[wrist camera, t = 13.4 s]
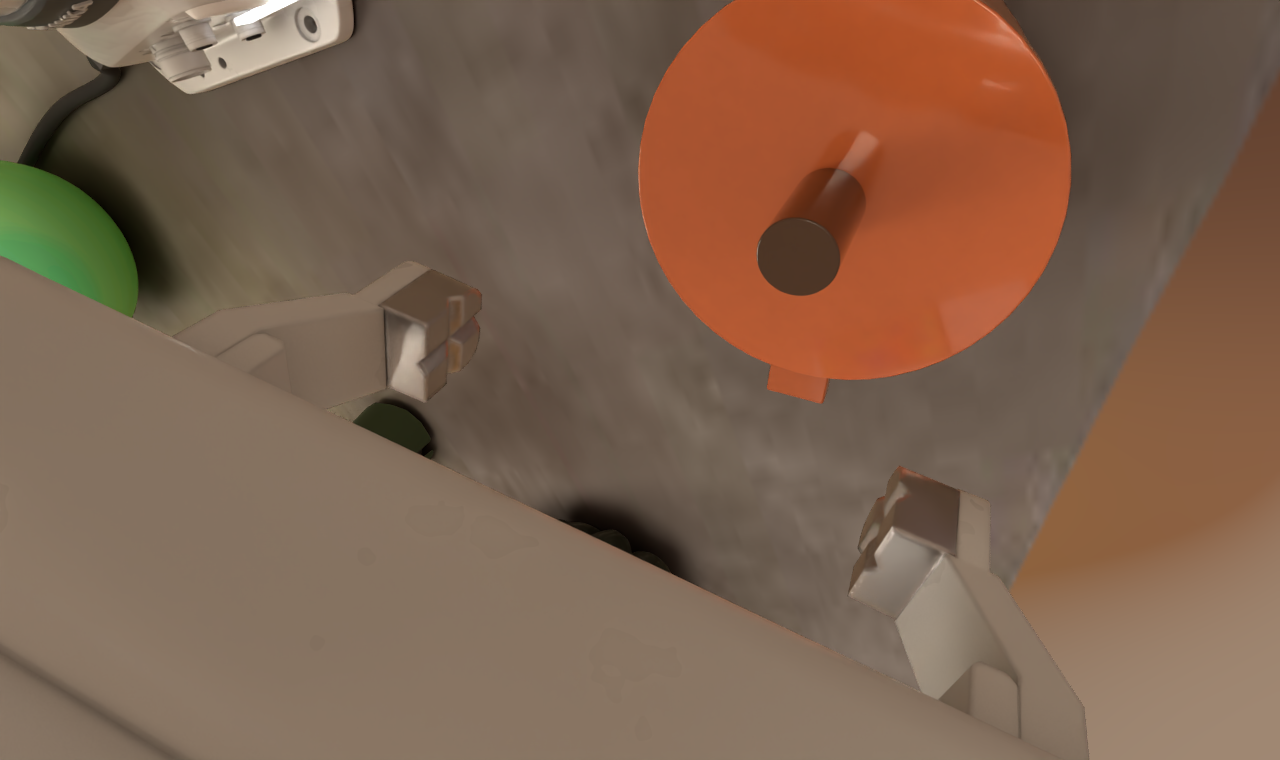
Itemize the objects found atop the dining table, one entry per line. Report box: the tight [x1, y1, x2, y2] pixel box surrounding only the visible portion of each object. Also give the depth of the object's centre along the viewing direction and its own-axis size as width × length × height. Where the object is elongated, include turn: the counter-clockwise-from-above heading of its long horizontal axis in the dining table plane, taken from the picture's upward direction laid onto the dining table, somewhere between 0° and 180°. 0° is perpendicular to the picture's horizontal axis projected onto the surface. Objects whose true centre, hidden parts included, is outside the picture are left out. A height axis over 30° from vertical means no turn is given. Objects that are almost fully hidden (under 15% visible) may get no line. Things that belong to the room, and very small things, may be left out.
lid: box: [638, 0, 1071, 380], centre depth 23 cm, size 14×14×6 cm
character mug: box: [353, 403, 433, 460], centre depth 52 cm, size 11×7×13 cm, turn 0°
